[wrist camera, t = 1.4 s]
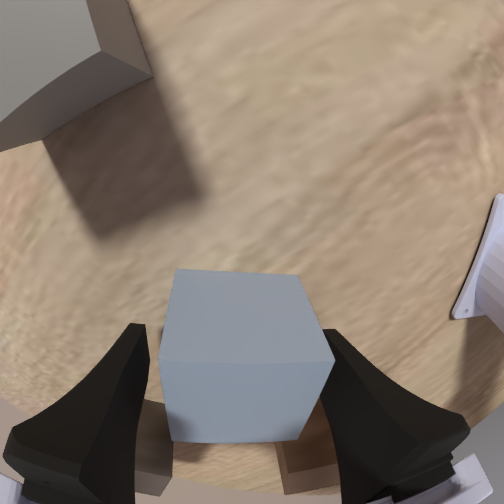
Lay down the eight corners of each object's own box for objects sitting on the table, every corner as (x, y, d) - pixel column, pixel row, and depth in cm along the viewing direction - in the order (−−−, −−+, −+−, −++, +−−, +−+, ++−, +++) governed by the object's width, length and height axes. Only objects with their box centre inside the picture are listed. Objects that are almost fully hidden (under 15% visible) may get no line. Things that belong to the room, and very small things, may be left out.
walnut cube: (349, 389, 17) (375, 452, 13) (337, 426, 19) (355, 479, 15) (274, 404, 17) (288, 473, 12) (273, 438, 19) (284, 495, 14)
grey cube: (119, -24, 6) (67, -85, 2) (153, 77, 8) (100, 50, 4) (15, 42, 6) (-66, 31, 2) (42, 139, 9) (-45, 168, 4)
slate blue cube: (296, 273, 12) (335, 360, 8) (277, 356, 15) (297, 439, 10) (176, 267, 12) (157, 359, 7) (178, 354, 14) (171, 441, 9)
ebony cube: (175, 405, 16) (172, 477, 11) (163, 437, 18) (160, 496, 13) (96, 384, 15) (78, 453, 10) (97, 420, 17) (85, 478, 12)
